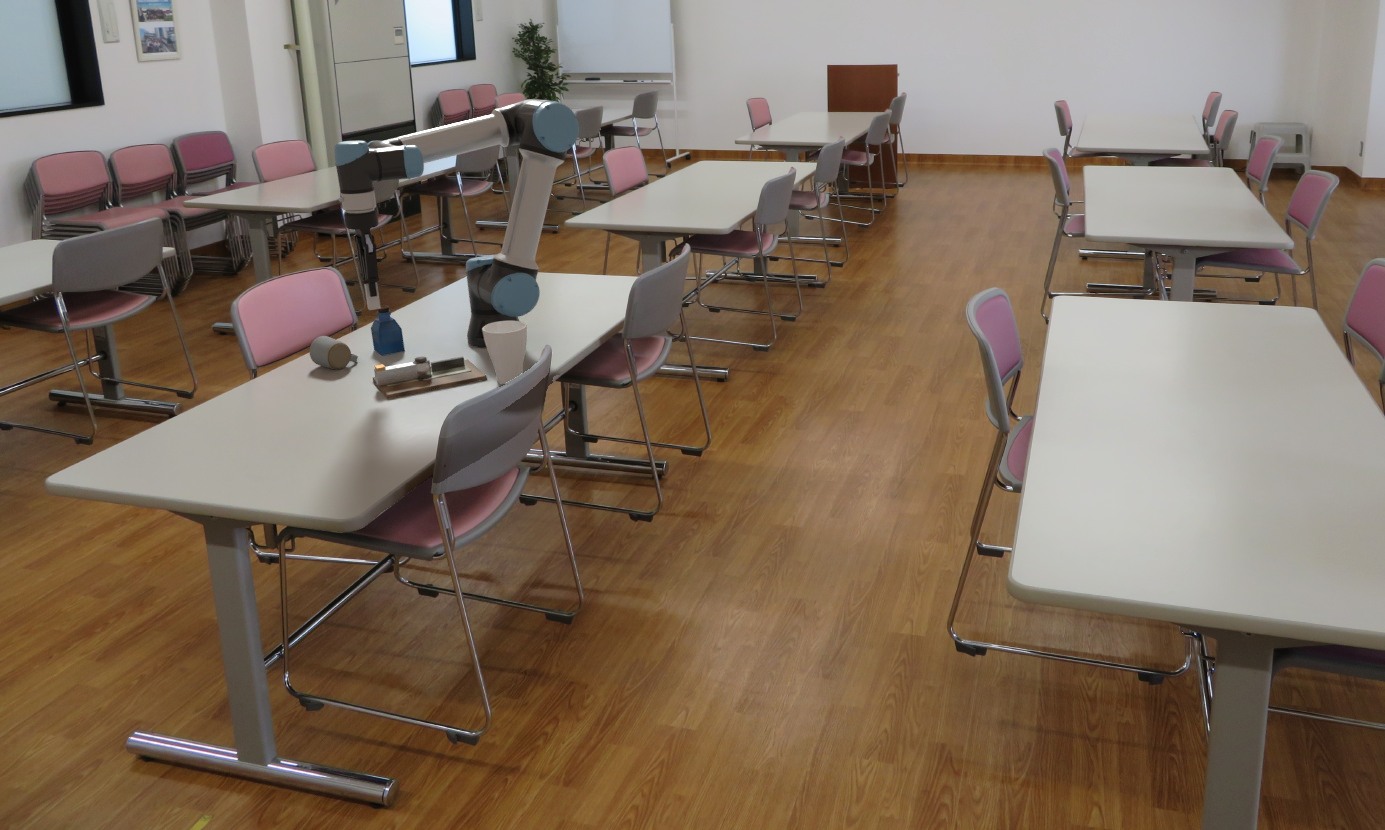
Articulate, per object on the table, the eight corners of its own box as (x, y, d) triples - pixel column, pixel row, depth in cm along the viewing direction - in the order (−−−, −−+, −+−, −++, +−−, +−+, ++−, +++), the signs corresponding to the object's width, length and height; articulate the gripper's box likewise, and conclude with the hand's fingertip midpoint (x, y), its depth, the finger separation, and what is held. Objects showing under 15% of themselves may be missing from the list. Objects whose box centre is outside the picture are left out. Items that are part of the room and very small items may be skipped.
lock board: (468, 363, 270) (465, 341, 268) (486, 379, 257) (484, 356, 255) (373, 381, 259) (369, 358, 257) (387, 398, 247) (384, 375, 245)
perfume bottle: (404, 351, 282) (398, 307, 277) (382, 355, 279) (375, 311, 274) (396, 345, 287) (390, 302, 282) (374, 350, 283) (367, 306, 279)
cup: (504, 371, 263) (499, 318, 258) (540, 376, 258) (535, 322, 253) (479, 384, 254) (472, 330, 249) (515, 390, 250) (509, 335, 245)
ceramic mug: (331, 373, 266) (326, 344, 263) (311, 368, 271) (306, 339, 268) (365, 362, 274) (361, 334, 271) (345, 357, 279) (341, 329, 276)
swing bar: (428, 371, 260) (426, 355, 258) (433, 376, 256) (431, 359, 255) (375, 381, 254) (372, 364, 253) (379, 386, 251) (376, 369, 249)
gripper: (337, 208, 249) (352, 305, 258) (349, 216, 239) (364, 317, 247) (369, 204, 253) (383, 300, 261) (382, 212, 242) (396, 312, 250)
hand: (374, 308), depth 254 cm, fingers closed
